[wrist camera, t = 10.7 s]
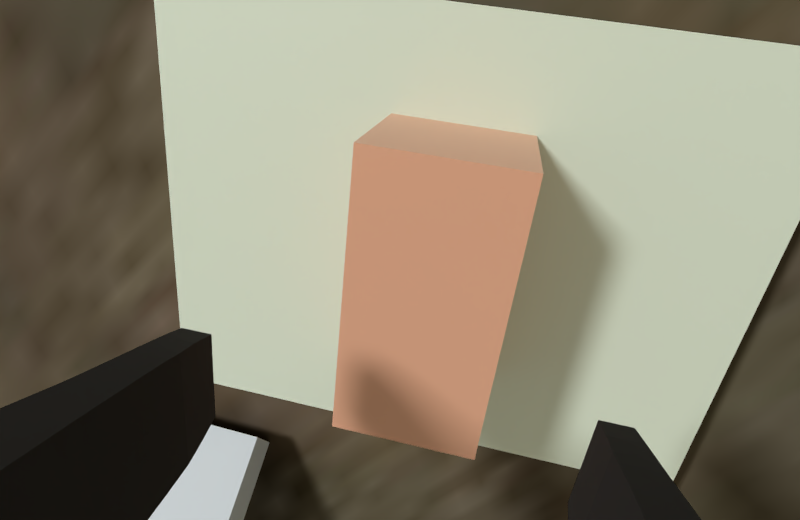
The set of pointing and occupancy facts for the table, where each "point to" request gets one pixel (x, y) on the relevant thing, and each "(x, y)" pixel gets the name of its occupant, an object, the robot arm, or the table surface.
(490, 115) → the board
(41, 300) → the table surface
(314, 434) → the table surface
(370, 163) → the terracotta brick
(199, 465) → the grey-blue slab
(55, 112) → the table surface
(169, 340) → the robot arm
